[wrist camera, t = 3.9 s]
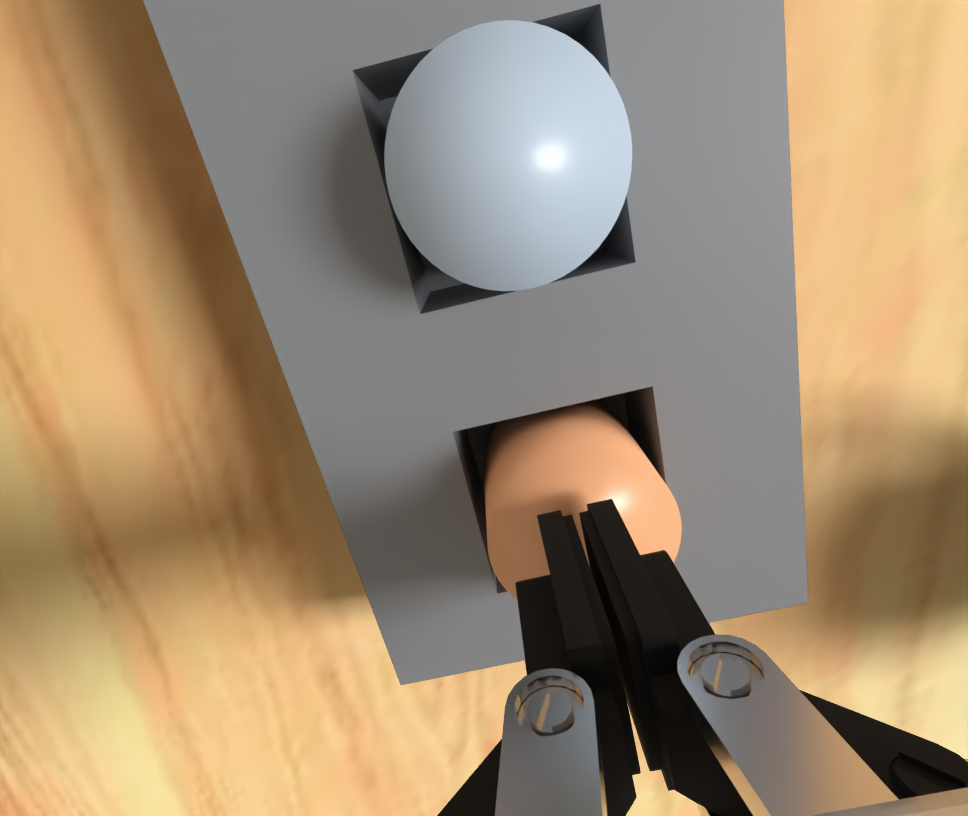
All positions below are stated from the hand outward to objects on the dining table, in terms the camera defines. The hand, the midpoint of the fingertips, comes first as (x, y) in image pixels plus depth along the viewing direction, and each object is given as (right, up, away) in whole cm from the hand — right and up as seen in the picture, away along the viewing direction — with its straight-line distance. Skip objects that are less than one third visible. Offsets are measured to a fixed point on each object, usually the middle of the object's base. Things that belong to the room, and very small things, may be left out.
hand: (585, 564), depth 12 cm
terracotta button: (0, +2, +4) cm, 5 cm away
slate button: (-2, +9, +2) cm, 9 cm away
